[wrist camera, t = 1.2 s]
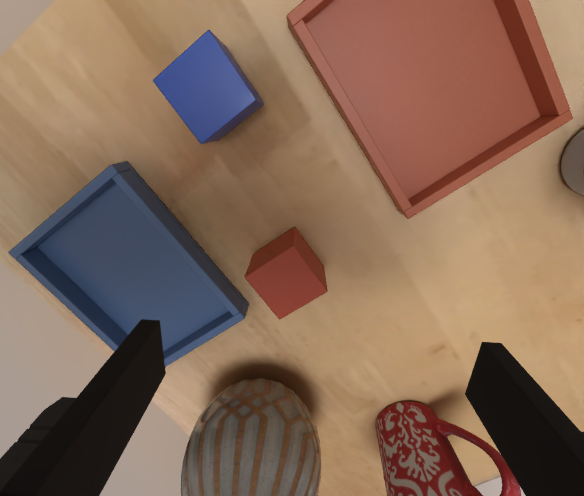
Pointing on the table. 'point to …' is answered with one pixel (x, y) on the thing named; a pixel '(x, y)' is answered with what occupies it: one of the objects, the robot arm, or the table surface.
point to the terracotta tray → (433, 86)
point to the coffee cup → (574, 163)
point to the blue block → (208, 89)
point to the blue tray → (130, 266)
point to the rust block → (287, 274)
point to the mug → (429, 454)
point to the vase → (253, 444)
